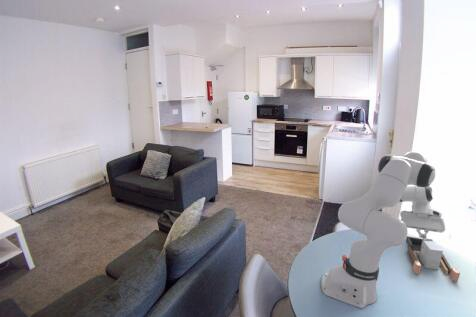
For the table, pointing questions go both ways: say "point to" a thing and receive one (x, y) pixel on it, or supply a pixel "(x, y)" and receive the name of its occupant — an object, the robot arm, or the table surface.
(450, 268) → the walnut channel
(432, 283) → the table surface
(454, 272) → the posts
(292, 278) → the table surface
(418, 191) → the robot arm
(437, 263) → the small box
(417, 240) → the dark grey tray
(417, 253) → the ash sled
